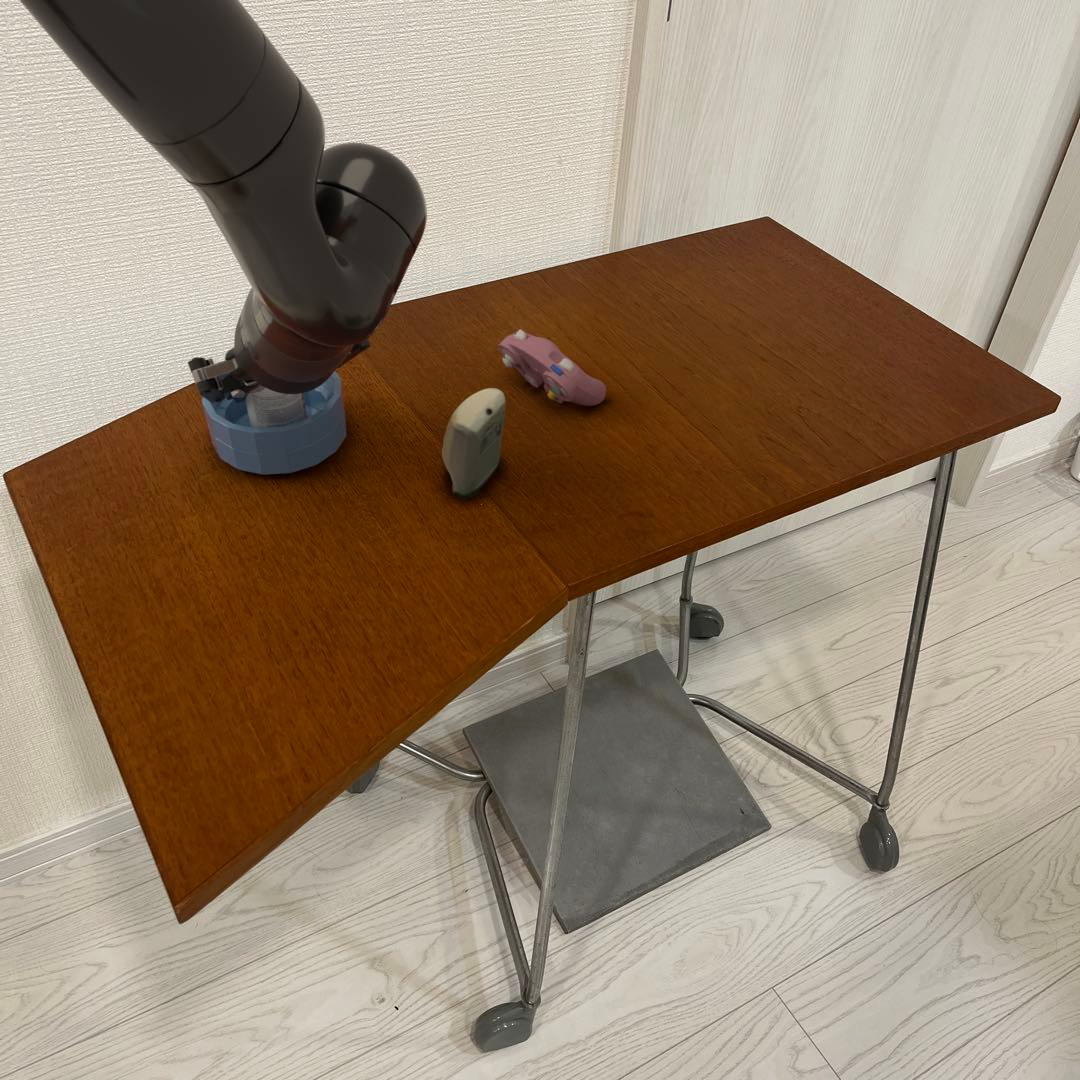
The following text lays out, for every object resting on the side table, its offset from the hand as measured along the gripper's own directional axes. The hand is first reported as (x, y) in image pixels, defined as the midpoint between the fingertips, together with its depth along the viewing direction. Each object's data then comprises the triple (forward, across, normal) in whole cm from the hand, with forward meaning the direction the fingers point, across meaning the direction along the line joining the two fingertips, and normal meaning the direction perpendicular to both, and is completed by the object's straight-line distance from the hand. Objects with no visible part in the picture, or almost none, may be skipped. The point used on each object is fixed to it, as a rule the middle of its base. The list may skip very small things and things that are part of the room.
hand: (266, 381), depth 85 cm
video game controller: (-1, -24, +8) cm, 25 cm away
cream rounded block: (-7, -12, +14) cm, 20 cm away
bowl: (+2, 0, +5) cm, 5 cm away
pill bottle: (+2, 0, +4) cm, 5 cm away
